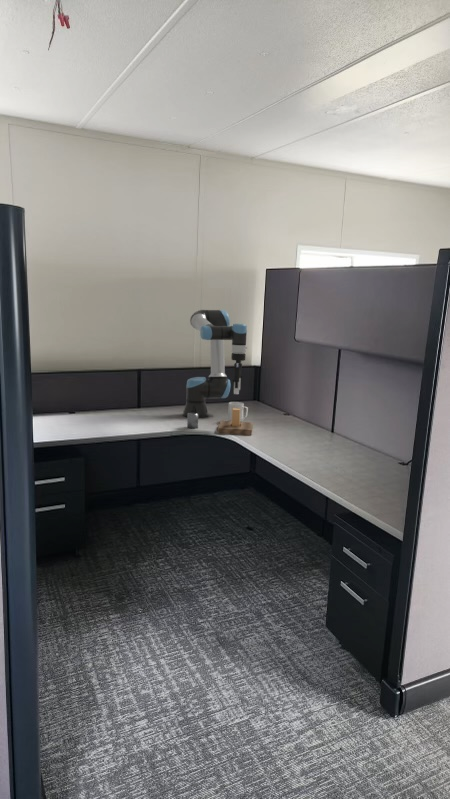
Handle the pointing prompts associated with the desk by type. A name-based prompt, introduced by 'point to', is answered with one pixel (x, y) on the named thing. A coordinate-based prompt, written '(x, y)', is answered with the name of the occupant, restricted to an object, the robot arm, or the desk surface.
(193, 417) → the grey rounded block
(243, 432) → the socket block
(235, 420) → the square peg
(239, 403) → the mug
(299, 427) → the desk surface
